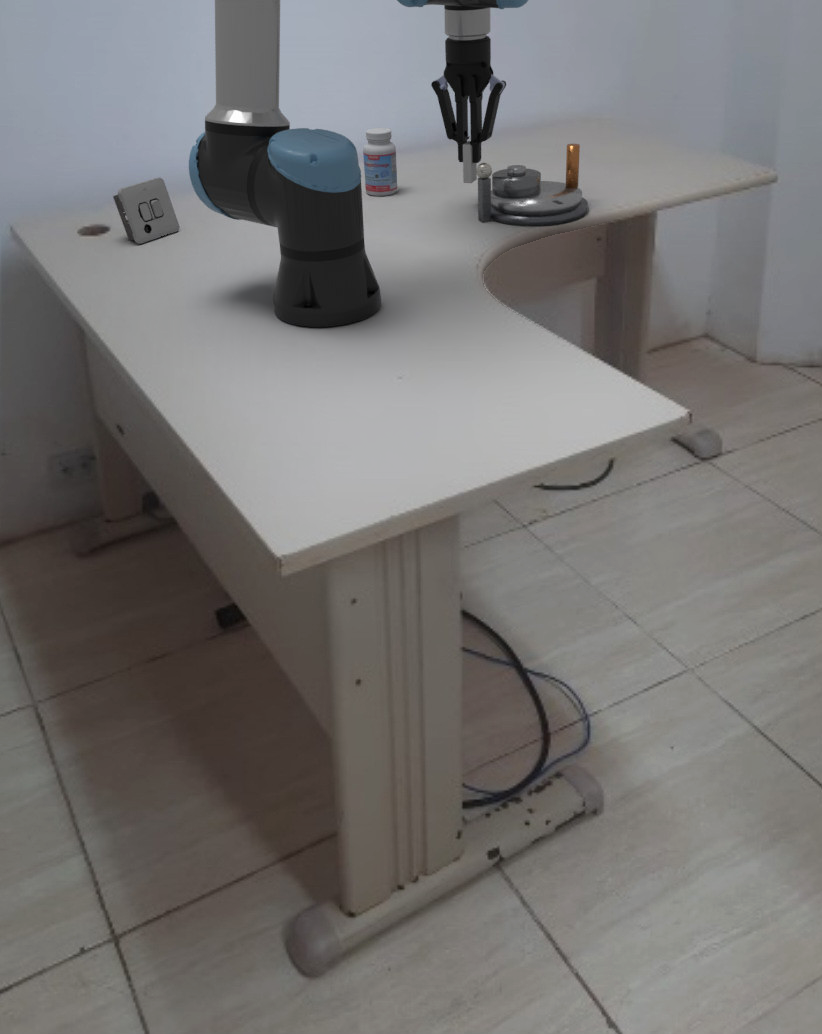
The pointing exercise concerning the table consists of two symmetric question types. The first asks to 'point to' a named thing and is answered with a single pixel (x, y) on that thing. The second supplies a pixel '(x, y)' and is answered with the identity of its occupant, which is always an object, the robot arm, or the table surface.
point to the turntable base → (540, 217)
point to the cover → (516, 182)
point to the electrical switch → (146, 210)
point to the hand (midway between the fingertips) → (470, 180)
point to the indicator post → (484, 192)
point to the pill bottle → (380, 163)
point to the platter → (548, 193)
